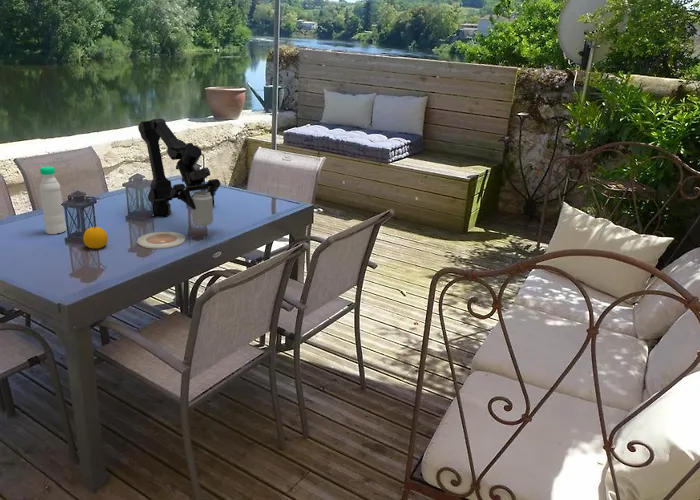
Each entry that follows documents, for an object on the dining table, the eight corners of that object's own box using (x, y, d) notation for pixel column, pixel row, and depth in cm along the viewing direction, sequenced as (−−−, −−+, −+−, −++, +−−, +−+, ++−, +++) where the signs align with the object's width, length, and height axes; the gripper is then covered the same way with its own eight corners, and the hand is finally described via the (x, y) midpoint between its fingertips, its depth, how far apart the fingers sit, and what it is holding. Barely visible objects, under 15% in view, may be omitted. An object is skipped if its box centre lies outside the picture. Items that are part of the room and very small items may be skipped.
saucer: (129, 247, 205) (129, 245, 205) (148, 232, 221) (148, 230, 221) (176, 250, 205) (176, 247, 204) (191, 235, 221) (191, 232, 220)
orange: (82, 251, 200) (79, 230, 197) (87, 243, 207) (84, 223, 205) (106, 250, 202) (104, 230, 199) (110, 243, 209) (108, 223, 206)
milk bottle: (70, 231, 219) (62, 166, 210) (54, 236, 213) (45, 170, 204) (57, 227, 222) (48, 164, 213) (41, 232, 216) (31, 167, 207)
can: (201, 227, 212) (200, 196, 208) (188, 223, 216) (187, 192, 212) (217, 223, 218) (216, 192, 214) (204, 219, 222) (203, 189, 218)
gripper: (171, 163, 205) (188, 200, 202) (217, 158, 218) (233, 192, 214) (163, 180, 214) (178, 215, 210) (207, 174, 226) (223, 207, 222)
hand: (204, 207), depth 214 cm, fingers closed on can, 7 cm apart
